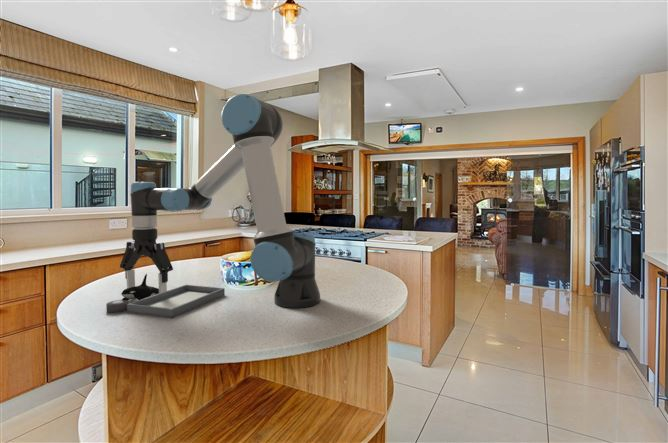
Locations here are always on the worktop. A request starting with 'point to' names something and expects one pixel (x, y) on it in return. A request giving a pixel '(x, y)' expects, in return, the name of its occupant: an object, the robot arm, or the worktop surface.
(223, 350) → the worktop surface
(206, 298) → the frame
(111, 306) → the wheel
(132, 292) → the toy
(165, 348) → the worktop surface
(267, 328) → the worktop surface
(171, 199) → the robot arm
